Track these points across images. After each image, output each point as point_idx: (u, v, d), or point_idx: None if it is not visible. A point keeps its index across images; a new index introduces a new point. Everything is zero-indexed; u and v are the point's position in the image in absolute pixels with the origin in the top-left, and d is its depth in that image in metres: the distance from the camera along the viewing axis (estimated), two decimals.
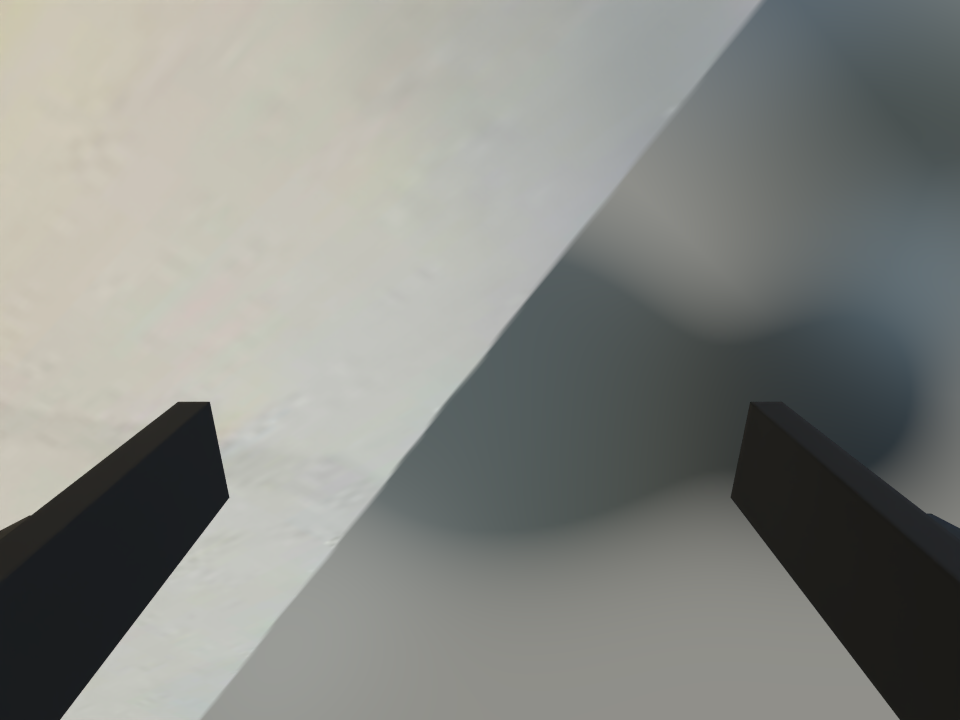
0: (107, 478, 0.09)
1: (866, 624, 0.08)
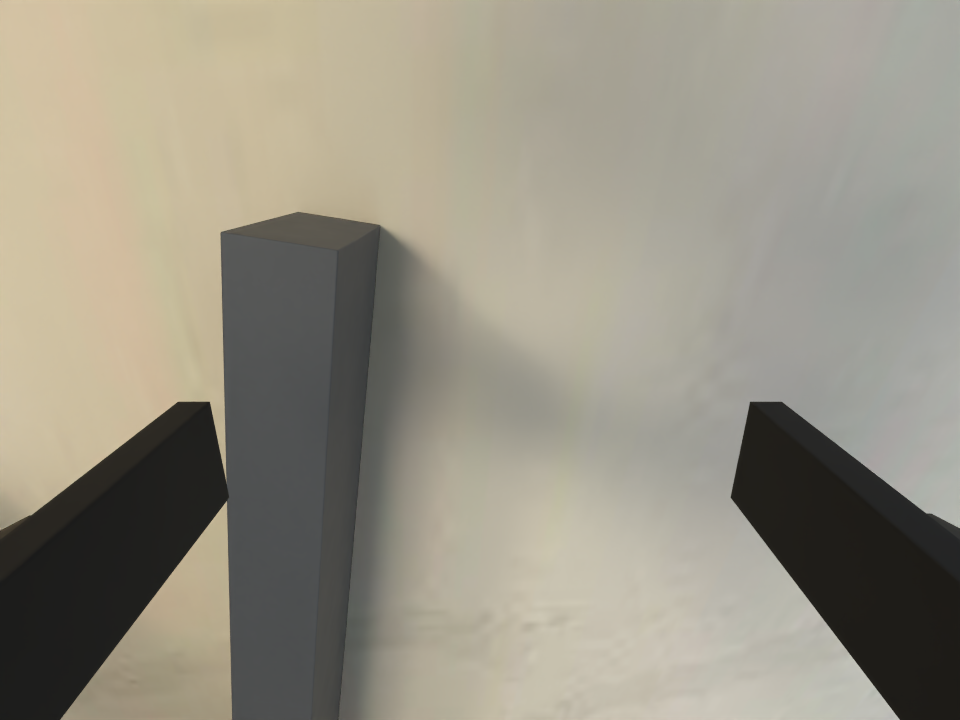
0: (107, 478, 0.09)
1: (866, 624, 0.08)
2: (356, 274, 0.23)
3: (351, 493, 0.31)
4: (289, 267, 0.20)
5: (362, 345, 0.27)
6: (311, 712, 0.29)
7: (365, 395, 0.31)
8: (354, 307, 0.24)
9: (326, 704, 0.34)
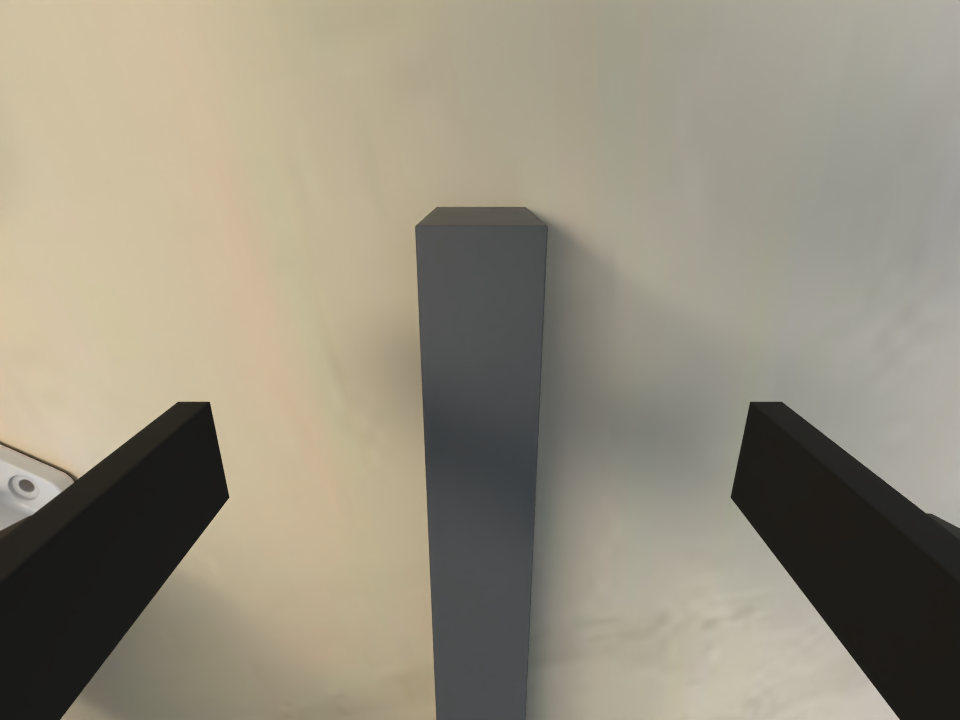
0: (107, 478, 0.09)
1: (867, 624, 0.08)
2: None
3: None
4: (493, 253, 0.17)
5: None
6: None
7: None
8: None
9: None
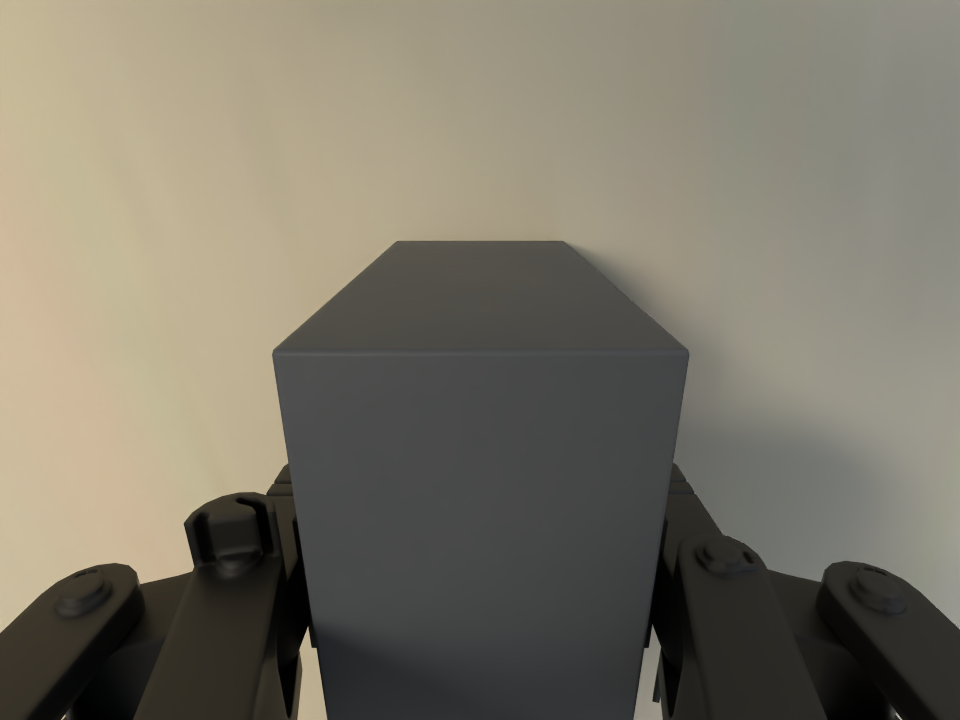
0: None
1: None
2: None
3: None
4: (517, 428, 0.06)
5: None
6: None
7: None
8: None
9: None
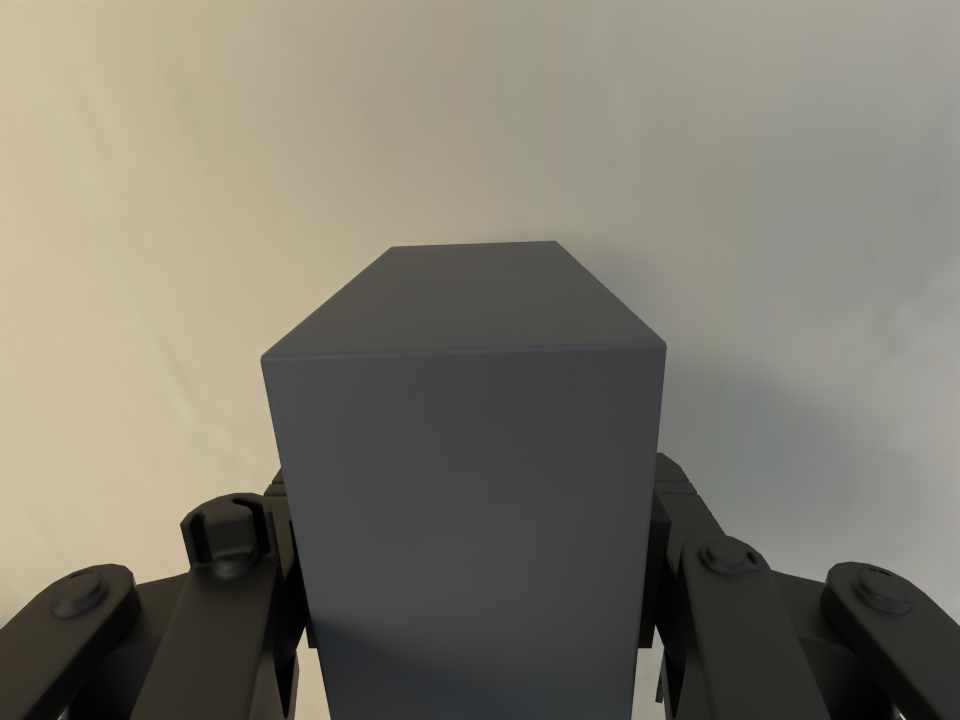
0: None
1: None
2: None
3: None
4: (502, 424, 0.06)
5: None
6: None
7: None
8: None
9: None
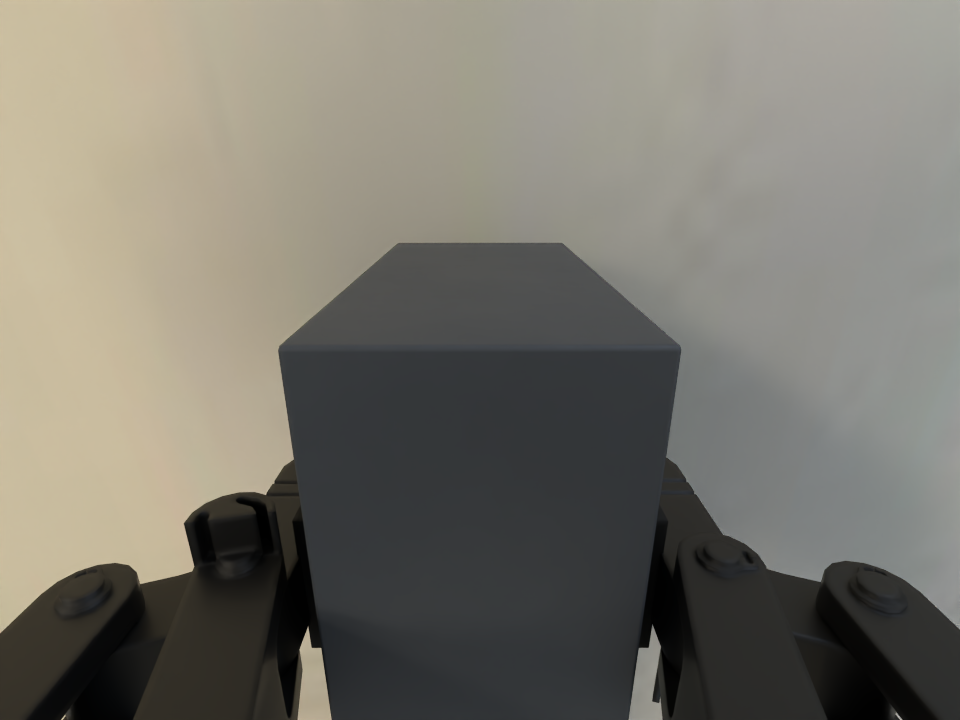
0: None
1: None
2: None
3: None
4: (515, 422, 0.06)
5: None
6: None
7: None
8: None
9: None
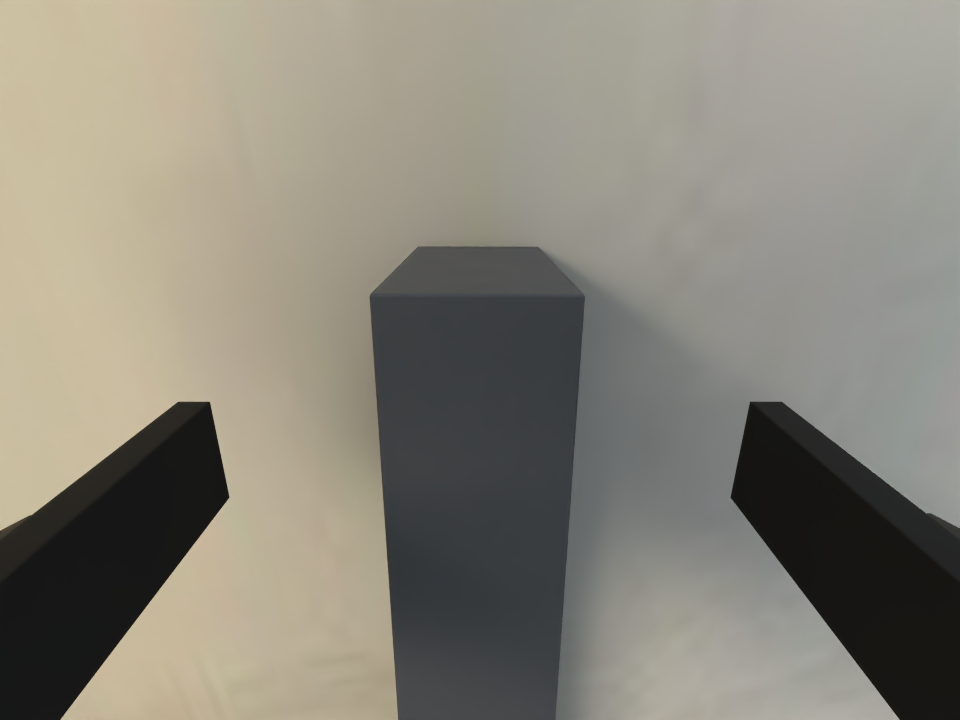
0: (107, 478, 0.09)
1: (866, 624, 0.08)
2: None
3: None
4: (497, 337, 0.11)
5: None
6: None
7: None
8: None
9: None
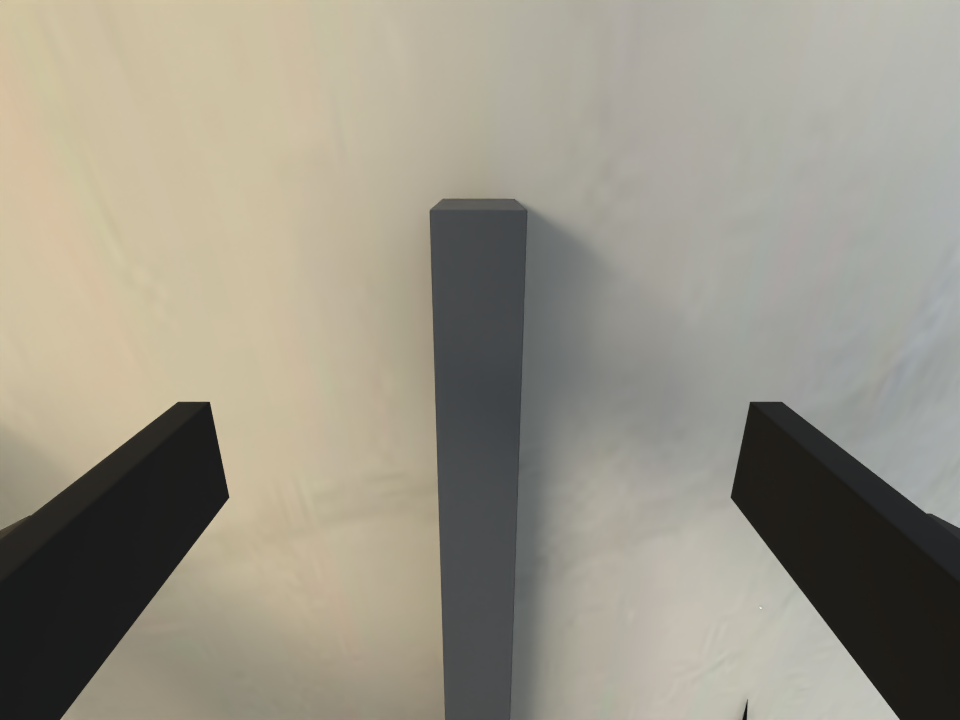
0: (107, 478, 0.09)
1: (866, 624, 0.08)
2: None
3: None
4: (487, 230, 0.23)
5: None
6: (512, 635, 0.32)
7: None
8: None
9: None
